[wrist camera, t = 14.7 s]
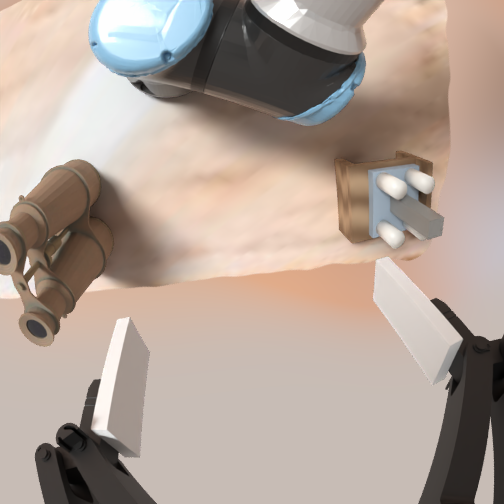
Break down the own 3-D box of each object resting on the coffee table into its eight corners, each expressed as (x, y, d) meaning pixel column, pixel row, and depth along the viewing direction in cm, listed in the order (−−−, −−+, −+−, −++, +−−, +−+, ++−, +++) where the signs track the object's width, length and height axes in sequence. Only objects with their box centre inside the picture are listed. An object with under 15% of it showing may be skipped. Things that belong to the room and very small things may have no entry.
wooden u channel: (334, 159, 49) (359, 172, 41) (402, 150, 50) (432, 162, 41) (339, 229, 56) (360, 253, 48) (401, 215, 57) (427, 235, 48)
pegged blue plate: (368, 170, 44) (413, 194, 34) (414, 163, 45) (461, 185, 34) (369, 234, 50) (406, 271, 39) (412, 224, 51) (452, 255, 40)
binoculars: (50, 163, 41) (-40, 219, 19) (97, 152, 42) (15, 201, 20) (77, 265, 51) (26, 357, 29) (121, 260, 52) (82, 360, 30)
